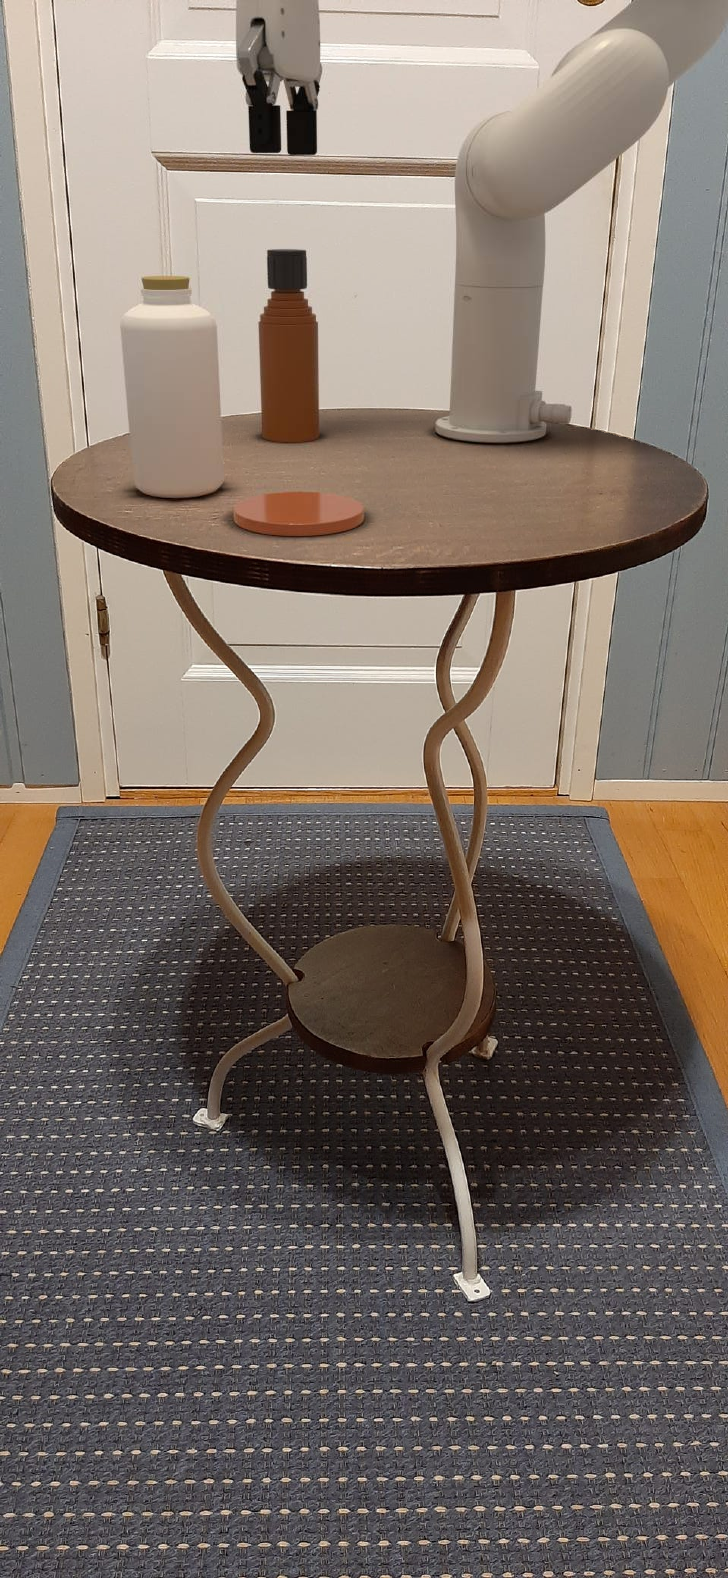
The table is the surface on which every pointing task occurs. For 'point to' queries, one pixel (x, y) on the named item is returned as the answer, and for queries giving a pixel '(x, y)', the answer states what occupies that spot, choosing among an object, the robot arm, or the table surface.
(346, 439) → the table surface
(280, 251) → the cap
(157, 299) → the potion bottle
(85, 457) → the table surface
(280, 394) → the sauce bottle
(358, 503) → the orange round coaster
